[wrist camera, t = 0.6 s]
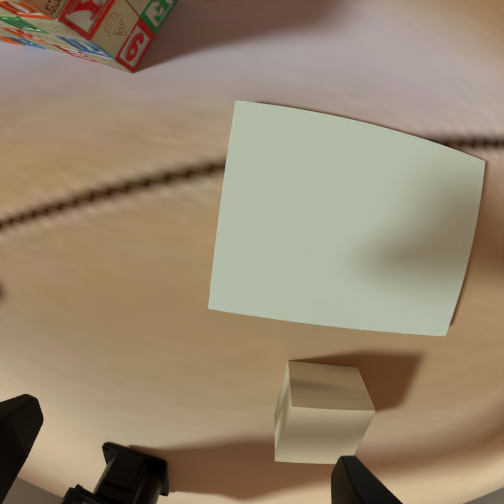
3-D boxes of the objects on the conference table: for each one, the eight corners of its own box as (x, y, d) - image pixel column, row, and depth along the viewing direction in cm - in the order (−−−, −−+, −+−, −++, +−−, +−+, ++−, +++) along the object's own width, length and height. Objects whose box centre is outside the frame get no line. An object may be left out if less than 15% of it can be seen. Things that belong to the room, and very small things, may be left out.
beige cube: (338, 418, 22) (349, 463, 17) (274, 413, 22) (274, 461, 17) (357, 366, 21) (375, 410, 16) (287, 359, 21) (291, 406, 16)
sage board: (437, 328, 20) (445, 336, 18) (211, 301, 20) (207, 308, 19) (475, 161, 17) (485, 161, 16) (237, 105, 17) (235, 100, 16)
